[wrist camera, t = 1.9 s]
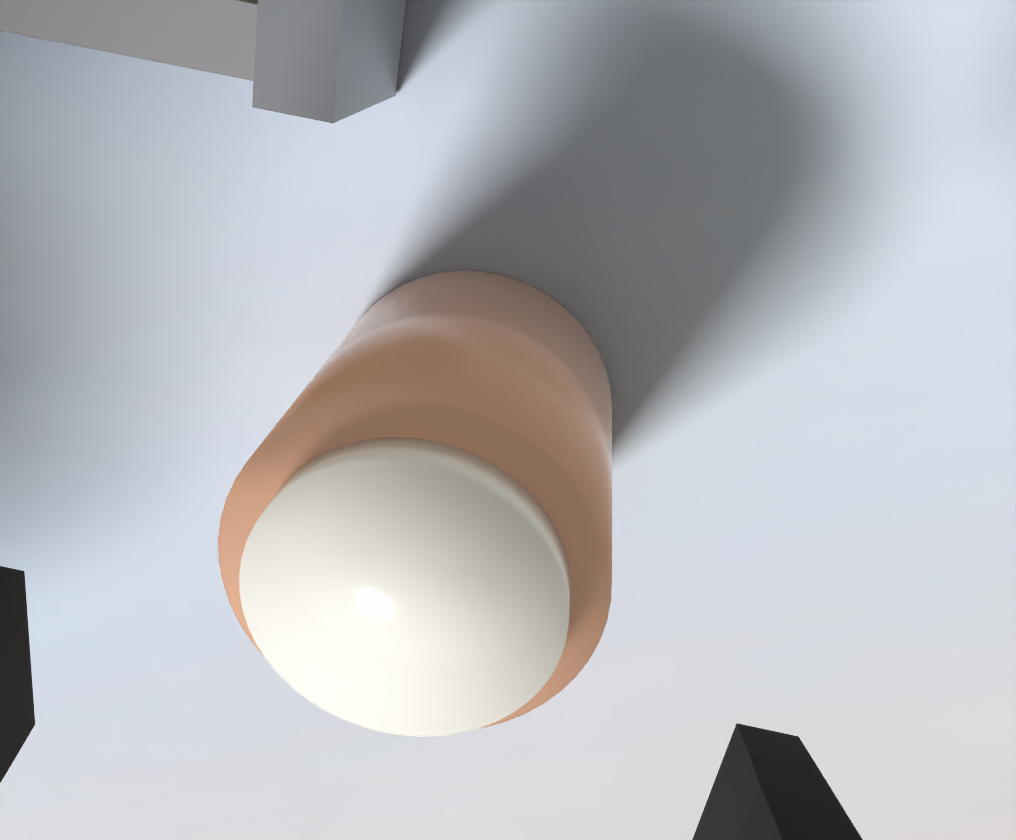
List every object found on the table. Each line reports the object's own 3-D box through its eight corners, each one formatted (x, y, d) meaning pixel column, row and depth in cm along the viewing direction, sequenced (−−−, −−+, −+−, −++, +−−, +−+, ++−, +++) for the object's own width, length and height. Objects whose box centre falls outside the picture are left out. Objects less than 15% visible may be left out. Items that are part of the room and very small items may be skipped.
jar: (579, 550, 17) (564, 799, 12) (323, 496, 17) (193, 721, 12) (641, 302, 15) (657, 471, 10) (349, 243, 15) (204, 377, 10)
